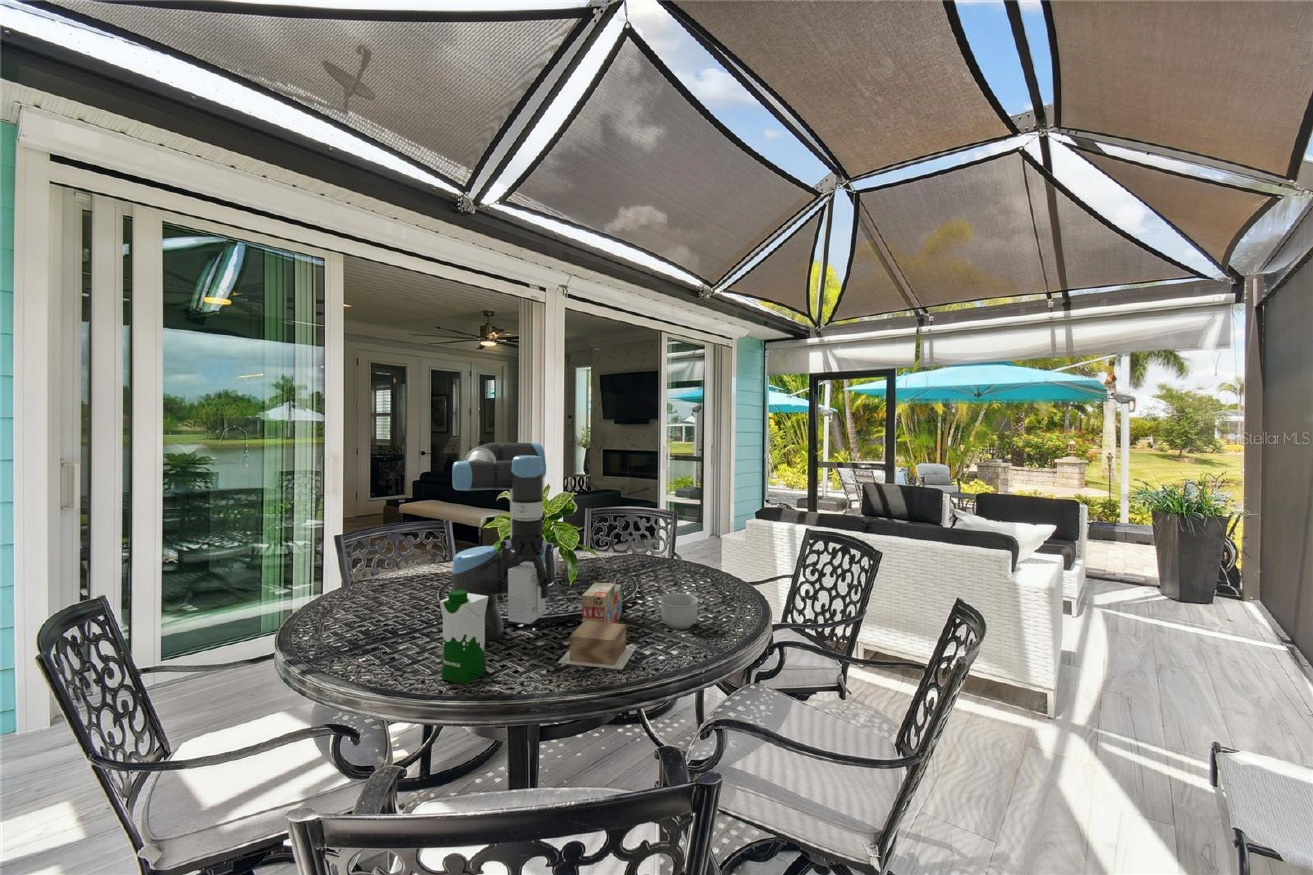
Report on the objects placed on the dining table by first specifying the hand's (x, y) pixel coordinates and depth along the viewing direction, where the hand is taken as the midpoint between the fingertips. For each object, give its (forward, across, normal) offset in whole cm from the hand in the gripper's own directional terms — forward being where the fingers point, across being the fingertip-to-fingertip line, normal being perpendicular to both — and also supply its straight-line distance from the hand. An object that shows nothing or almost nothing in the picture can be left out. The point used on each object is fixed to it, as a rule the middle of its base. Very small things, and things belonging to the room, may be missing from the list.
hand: (527, 609), depth 146 cm
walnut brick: (+10, +18, +2) cm, 21 cm away
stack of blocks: (+12, +12, +24) cm, 29 cm away
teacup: (+12, +32, +30) cm, 45 cm away
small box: (+2, 0, 0) cm, 2 cm away
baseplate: (+11, +18, +2) cm, 22 cm away
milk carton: (+12, -9, -14) cm, 20 cm away
